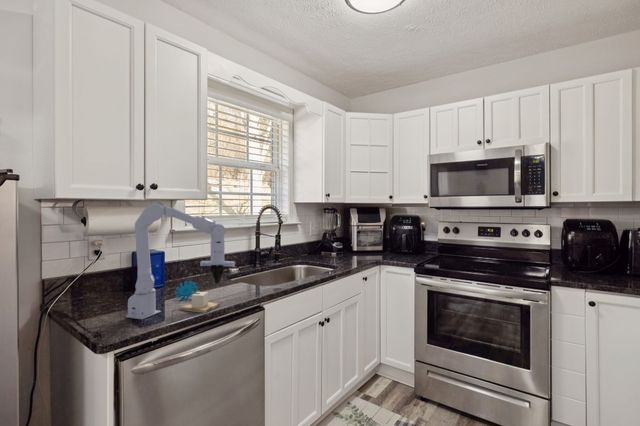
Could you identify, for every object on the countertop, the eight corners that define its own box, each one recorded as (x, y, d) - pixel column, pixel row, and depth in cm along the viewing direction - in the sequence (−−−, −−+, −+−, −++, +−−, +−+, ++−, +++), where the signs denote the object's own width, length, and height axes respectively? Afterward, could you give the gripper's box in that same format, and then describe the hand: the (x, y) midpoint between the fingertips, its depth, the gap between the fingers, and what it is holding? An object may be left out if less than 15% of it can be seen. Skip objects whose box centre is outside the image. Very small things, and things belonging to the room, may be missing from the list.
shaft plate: (204, 312, 132) (204, 304, 132) (180, 309, 136) (180, 301, 135) (219, 305, 141) (219, 297, 141) (196, 303, 145) (196, 295, 145)
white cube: (208, 303, 141) (208, 291, 140) (203, 307, 136) (203, 295, 135) (197, 303, 141) (196, 291, 141) (191, 307, 136) (191, 294, 136)
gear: (170, 296, 149) (181, 278, 156) (174, 302, 154) (185, 284, 160) (192, 301, 148) (202, 282, 154) (196, 307, 152) (205, 288, 159)
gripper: (197, 252, 138) (197, 284, 138) (230, 253, 137) (230, 285, 137) (204, 250, 145) (204, 280, 145) (236, 250, 144) (236, 281, 144)
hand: (217, 282), depth 141 cm, fingers closed
